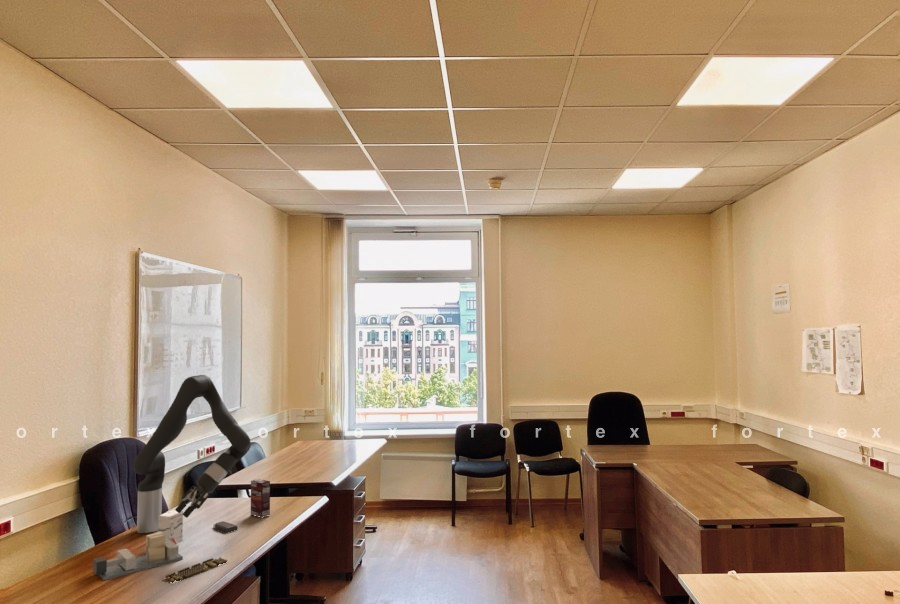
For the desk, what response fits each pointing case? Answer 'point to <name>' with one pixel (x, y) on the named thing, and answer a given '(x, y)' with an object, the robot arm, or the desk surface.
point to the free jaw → (115, 562)
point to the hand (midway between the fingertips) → (180, 513)
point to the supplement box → (260, 497)
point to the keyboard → (194, 570)
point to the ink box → (172, 525)
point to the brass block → (155, 546)
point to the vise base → (145, 562)
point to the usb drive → (225, 527)
